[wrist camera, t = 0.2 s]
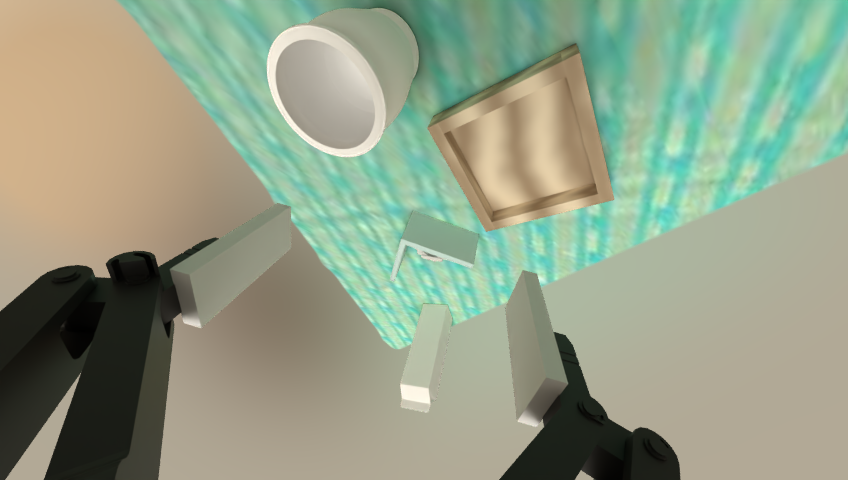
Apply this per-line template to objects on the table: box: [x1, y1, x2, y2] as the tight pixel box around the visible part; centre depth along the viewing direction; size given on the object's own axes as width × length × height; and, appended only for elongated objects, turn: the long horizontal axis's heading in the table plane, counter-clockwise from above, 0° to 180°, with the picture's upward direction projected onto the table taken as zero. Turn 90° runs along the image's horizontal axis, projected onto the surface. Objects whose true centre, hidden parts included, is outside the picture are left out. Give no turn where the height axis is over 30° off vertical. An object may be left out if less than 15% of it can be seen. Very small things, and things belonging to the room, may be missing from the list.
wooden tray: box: [427, 44, 614, 232], centre depth 38 cm, size 17×18×4 cm
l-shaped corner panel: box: [390, 211, 479, 281], centre depth 54 cm, size 12×12×8 cm
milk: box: [400, 303, 453, 412], centre depth 65 cm, size 6×6×22 cm
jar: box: [267, 8, 419, 157], centre depth 30 cm, size 11×10×15 cm
